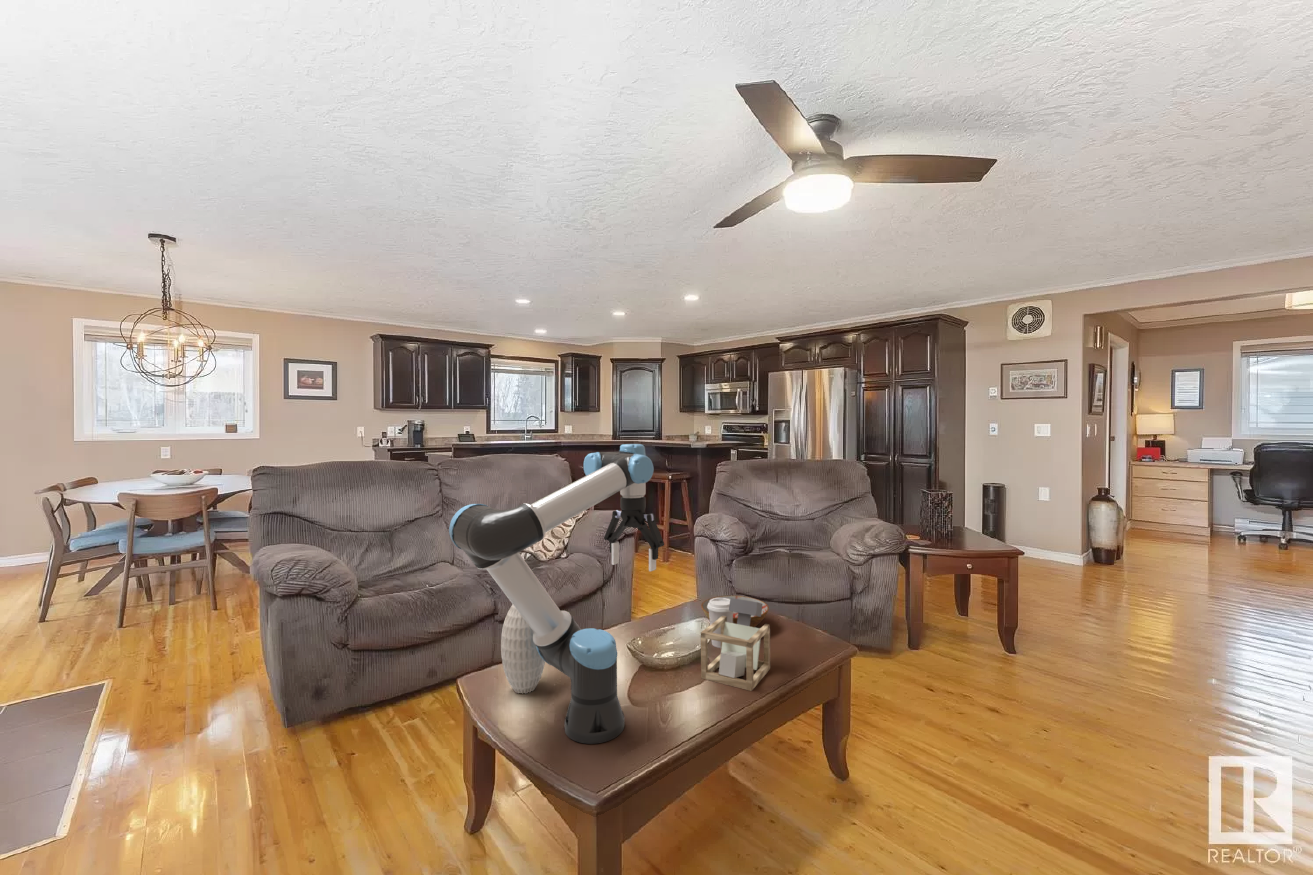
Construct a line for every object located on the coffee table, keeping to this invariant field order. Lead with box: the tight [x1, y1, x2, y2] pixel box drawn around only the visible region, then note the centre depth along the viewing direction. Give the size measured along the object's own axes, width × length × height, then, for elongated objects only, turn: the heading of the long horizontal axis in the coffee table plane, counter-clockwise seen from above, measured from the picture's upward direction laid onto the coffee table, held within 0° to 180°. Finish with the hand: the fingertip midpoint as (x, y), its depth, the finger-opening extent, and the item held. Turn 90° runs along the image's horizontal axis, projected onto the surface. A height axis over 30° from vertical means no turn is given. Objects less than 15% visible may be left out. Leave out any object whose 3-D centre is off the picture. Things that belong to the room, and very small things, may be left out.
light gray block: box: [718, 651, 746, 678], centre depth 166 cm, size 6×5×8 cm
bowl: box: [700, 594, 770, 628], centre depth 207 cm, size 25×25×8 cm
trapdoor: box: [720, 598, 762, 671], centre depth 173 cm, size 20×12×5 cm
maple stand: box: [700, 616, 771, 692], centre depth 169 cm, size 16×16×14 cm
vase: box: [500, 603, 546, 695], centre depth 160 cm, size 13×13×28 cm
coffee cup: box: [707, 597, 733, 649], centre depth 191 cm, size 10×10×15 cm
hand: (633, 567), depth 164 cm, fingers open, 13 cm apart
